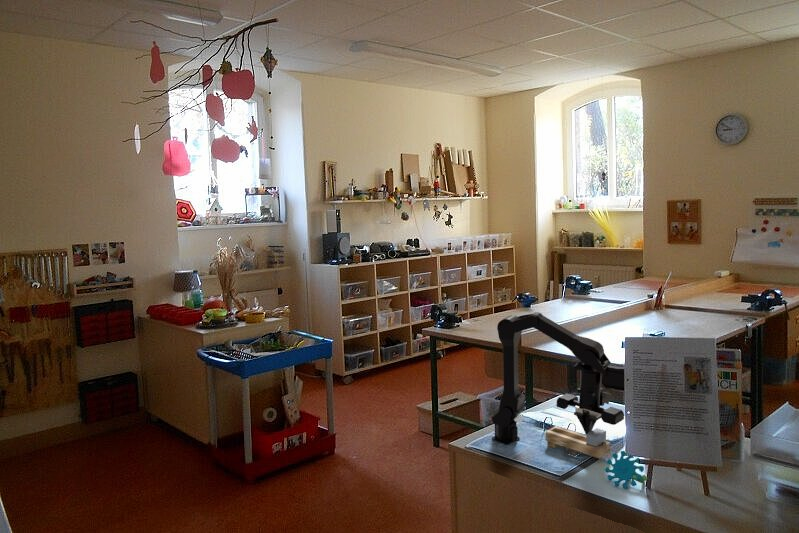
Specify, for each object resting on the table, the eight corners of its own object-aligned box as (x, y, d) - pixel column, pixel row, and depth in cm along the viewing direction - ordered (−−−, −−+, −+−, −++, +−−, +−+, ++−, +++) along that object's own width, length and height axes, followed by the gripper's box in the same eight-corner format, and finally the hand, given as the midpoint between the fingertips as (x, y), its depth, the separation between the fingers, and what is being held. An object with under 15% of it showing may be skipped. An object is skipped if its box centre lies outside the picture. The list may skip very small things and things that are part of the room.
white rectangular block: (586, 448, 174) (586, 434, 173) (596, 442, 178) (596, 428, 177) (595, 452, 172) (595, 437, 171) (605, 445, 176) (606, 430, 175)
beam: (545, 446, 184) (544, 431, 184) (556, 440, 189) (556, 425, 188) (599, 465, 171) (599, 449, 171) (610, 457, 176) (610, 441, 175)
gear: (597, 475, 163) (615, 443, 165) (603, 483, 166) (621, 452, 169) (635, 495, 154) (653, 462, 157) (641, 503, 158) (659, 471, 161)
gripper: (634, 386, 173) (631, 437, 175) (576, 370, 186) (574, 418, 189) (615, 396, 165) (612, 450, 168) (556, 379, 178) (554, 429, 181)
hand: (588, 436), depth 176 cm, fingers closed
